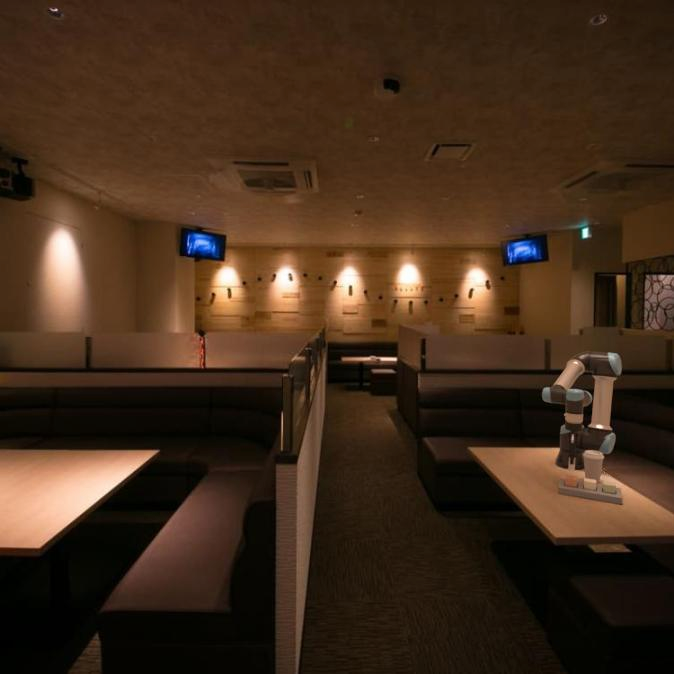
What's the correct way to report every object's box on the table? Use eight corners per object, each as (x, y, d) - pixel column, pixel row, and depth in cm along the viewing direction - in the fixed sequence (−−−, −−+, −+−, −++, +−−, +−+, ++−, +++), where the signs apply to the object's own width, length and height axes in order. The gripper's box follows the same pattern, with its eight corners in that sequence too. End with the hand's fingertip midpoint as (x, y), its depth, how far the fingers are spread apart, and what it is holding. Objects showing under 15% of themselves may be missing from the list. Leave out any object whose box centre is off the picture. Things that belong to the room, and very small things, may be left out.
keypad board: (560, 484, 241) (560, 478, 241) (620, 494, 229) (620, 488, 229) (558, 493, 229) (558, 487, 229) (621, 504, 217) (622, 498, 217)
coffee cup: (605, 485, 241) (607, 455, 240) (584, 483, 243) (586, 454, 242) (599, 478, 250) (600, 450, 249) (579, 477, 252) (580, 449, 251)
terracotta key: (565, 482, 236) (565, 474, 236) (577, 483, 234) (577, 476, 234) (565, 485, 232) (565, 478, 231) (576, 487, 229) (576, 479, 229)
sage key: (603, 488, 229) (603, 480, 228) (615, 490, 226) (615, 482, 226) (603, 491, 224) (603, 484, 224) (615, 493, 222) (615, 486, 222)
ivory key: (584, 485, 232) (584, 477, 232) (595, 486, 230) (596, 479, 230) (583, 488, 228) (584, 481, 228) (595, 490, 226) (596, 483, 225)
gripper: (565, 418, 238) (563, 465, 240) (564, 423, 227) (562, 472, 228) (582, 420, 235) (580, 467, 236) (582, 425, 223) (579, 475, 225)
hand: (571, 470), depth 232 cm, fingers closed
